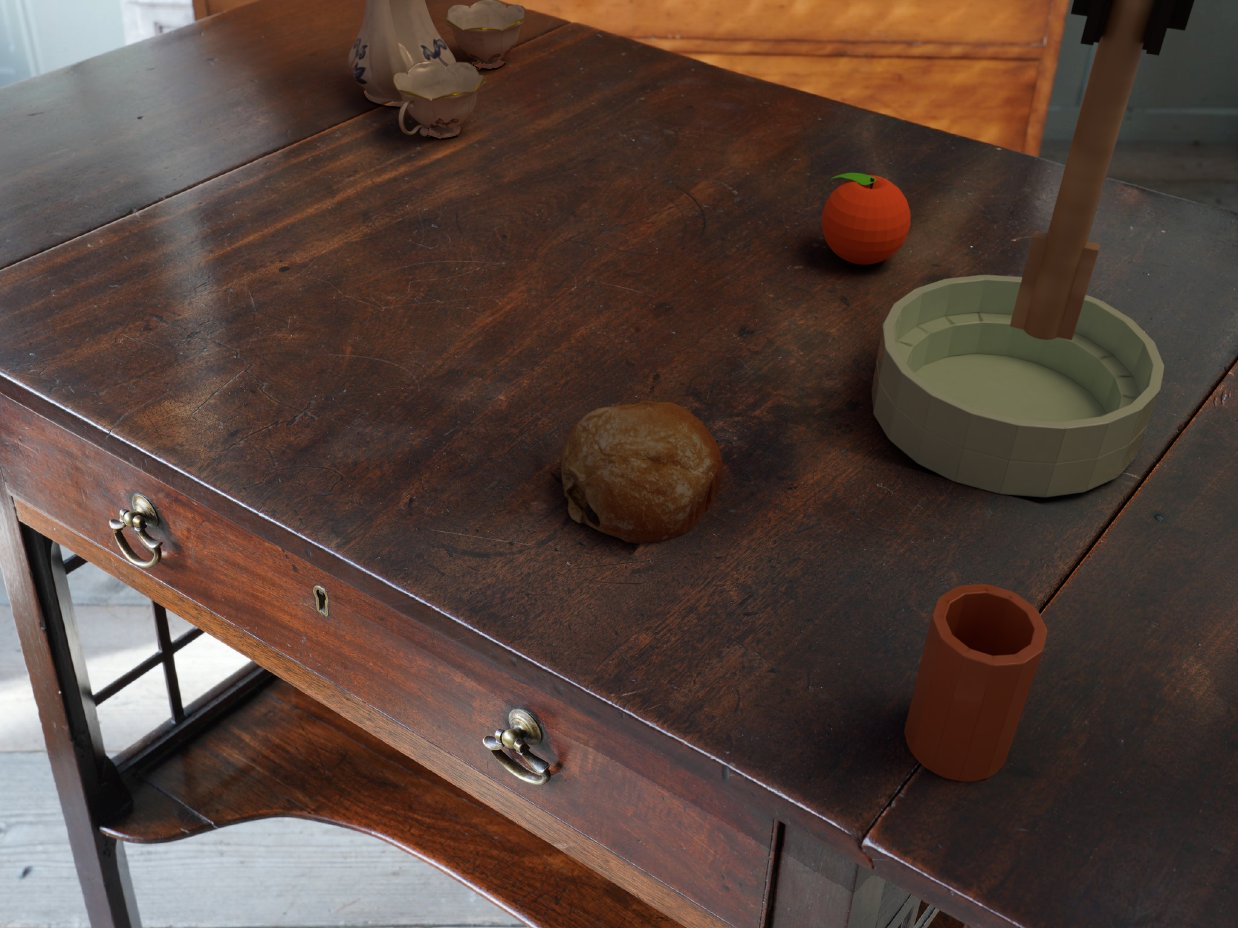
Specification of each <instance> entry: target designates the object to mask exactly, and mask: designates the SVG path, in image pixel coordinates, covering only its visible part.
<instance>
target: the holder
mask: <svg viewBox="0 0 1238 928" xmlns="http://www.w3.org/2000/svg"><path fill="white" fill-rule="evenodd" d="M1048 633H1049V632H1048V628H1047V626H1046V624H1045V621H1044V620H1043V618H1042V616H1041V613H1040V612H1039V610H1038V609H1037V607H1036V606H1034V605H1033V604H1031V603H1030V602H1029V601H1028V600H1026V599H1025V598H1023V597H1022V596H1021V595H1019V594H1017V593H1016V592H1014V591H1012V590H1009V589H1005V588H1002V587H999V586H995V585H991V584H988V583H987V584H986V583H978V584H977V583H975V584H964V585H957V586H955V587H954V588H952V589H951V590H949V591H947V592H945V593H943V594H942V595H941V596H939V597H938V598H937V601H936V603H935V606H934V610H933V612H932V615H931V619H930V623H929V627H928V632H927V634H926V635H927V636H926V640H925V644H924V648H923V651H922V656H921V660H920V663H919V668H918V672H917V675H916V679H915V684H914V687H913V688H914V689H913V693H912V696H911V700H910V705H909V709H908V712H907V717H906V722H905V725H904V728H903V729H904V730H903V733H904V736H905V739H906V744H907V747H908V749H909V750H910V753H911V754H912V755H913V757H914V758H915V759H916V760H917V761H918V763H920V764H921V765H922V766H923V767H924V768H925V769H927V770H929V771H930V772H932V773H934V774H935V775H937V776H939V777H942V778H945V779H948V780H951V781H957V782H977V781H982V780H985V779H988V778H990V777H992V776H993V775H995V774H996V773H997V772H999V771H1000V769H1002V768H1003V767H1005V765H1006V763H1007V760H1008V757H1009V755H1010V750H1011V748H1012V744H1013V742H1014V739H1015V735H1016V733H1017V730H1018V727H1019V723H1020V721H1021V718H1022V715H1023V712H1024V710H1025V706H1026V703H1027V700H1028V696H1029V695H1030V691H1031V688H1032V686H1033V682H1034V680H1035V677H1036V674H1037V670H1038V668H1039V665H1040V662H1041V659H1042V655H1043V653H1044V649H1045V645H1046V641H1047V637H1048Z"/></svg>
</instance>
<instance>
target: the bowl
mask: <svg viewBox="0 0 1238 928" xmlns="http://www.w3.org/2000/svg"><path fill="white" fill-rule="evenodd" d="M1021 280H1022V276H1011V275H1010V276H1009V275H996V274H977V275H969V276H958V277H950V278H944V279H940V280H938V281H935V282H931V283H928V284H926V285H921V286H919V287H916V288H914V289H913V290H911V291H910V292H909V293H907V294H906V295H904V296H903V297H901V298H900V299H899V300H897V301H896V302H895V303H893V304H892V305H891V308H890V310H889V312H888V314H887V315H886V317H885V319H884V321H883V323H882V327H881V333H880V340H879V345H878V350H877V356H876V361H875V368H874V374H873V380H872V385H871V399H872V400H871V401H872V402H871V403H872V411H873V413H872V414H873V416H874V417H875V419H876V420H877V422H878V424H879V426H880V427H881V429H882V430H883V432H884V434H885V435H886V437H887V439H888V440H889V441H890V442H891V443H892V444H894V445H895V446H896V447H897V448H898V449H899V450H900V451H902V452H903V453H904V454H906V456H908V457H909V458H910V459H912V461H914V462H915V463H916V464H918V465H920V466H921V467H923V468H925V469H928V470H930V471H932V472H934V473H935V474H937V475H939V476H942V477H944V478H946V479H948V480H950V481H951V482H955V483H958V484H962V485H965V486H968V487H973V488H976V489H980V490H984V491H988V492H991V493H995V494H1000V495H1007V496H1009V495H1010V496H1023V497H1033V498H1034V497H1035V498H1036V497H1037V498H1051V497H1058V496H1066V495H1073V494H1079V493H1086V492H1088V491H1091V490H1093V489H1095V488H1097V487H1099V486H1101V485H1104V484H1106V483H1109V482H1111V481H1113V480H1115V479H1116V478H1119V476H1121V475H1122V473H1123V472H1124V471H1125V470H1126V469H1127V468H1128V467H1129V466H1130V465H1131V464H1132V462H1133V461H1135V459H1136V458H1137V456H1138V454H1139V452H1140V448H1141V445H1142V443H1143V440H1144V437H1145V434H1146V431H1147V428H1148V426H1149V423H1150V420H1151V417H1152V414H1153V411H1154V409H1155V406H1156V403H1157V400H1158V398H1159V395H1160V392H1161V388H1162V383H1163V378H1164V372H1165V364H1164V362H1163V359H1162V357H1161V355H1160V353H1159V350H1158V347H1157V344H1156V343H1155V341H1154V340H1153V339H1152V338H1151V337H1150V336H1149V335H1148V334H1147V333H1146V332H1145V331H1144V330H1143V329H1142V328H1141V327H1140V326H1139V324H1138V323H1137V322H1135V320H1133V318H1131V317H1129V316H1127V315H1126V314H1124V313H1122V312H1121V311H1120V310H1118V309H1116V308H1114V307H1113V306H1111V305H1110V304H1108V303H1106V302H1105V301H1103V300H1100V299H1098V298H1096V297H1093V296H1090V295H1088V294H1086V296H1085V299H1084V302H1083V306H1082V309H1081V312H1080V316H1079V319H1078V322H1077V326H1076V329H1075V332H1074V336H1073V339H1072V340H1068V339H1063V338H1059V337H1057V338H1055V339H1051V340H1042V339H1037V338H1034V337H1032V336H1030V335H1028V334H1027V333H1026V332H1025V331H1024V330H1023V329H1019V328H1014V327H1010V323H1011V319H1012V315H1013V311H1014V307H1015V304H1016V300H1017V296H1018V292H1019V288H1020V284H1021Z"/></svg>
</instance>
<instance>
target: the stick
mask: <svg viewBox="0 0 1238 928" xmlns="http://www.w3.org/2000/svg"><path fill="white" fill-rule="evenodd" d="M1155 1H1156V0H1111V2H1110V5H1109V9H1108V13H1107V17H1106V20H1105V24H1104V28H1103V32H1102V35H1101V38H1100V41H1099V43H1097V46H1096V47H1097V48H1096V50H1095V54H1094V57H1093V62H1092V65H1091V69H1090V72H1089V77H1088V80H1087V84H1086V86H1085V87H1086V88H1085V92H1084V95H1083V99H1082V103H1081V106H1080V110H1079V114H1078V117H1077V121H1076V126H1075V129H1074V133H1073V137H1072V140H1071V144H1070V148H1069V152H1068V155H1067V159H1066V163H1065V166H1064V171H1063V174H1062V178H1061V182H1060V185H1059V188H1058V192H1057V196H1056V200H1055V204H1054V207H1053V211H1052V216H1051V219H1050V223H1049V227H1048V230H1047V232H1044V231H1038V230H1034V232H1033V234H1032V238H1031V242H1030V246H1029V249H1028V254H1027V257H1026V261H1025V266H1024V269H1023V273H1022V276H1021V277H1022V280H1021V284H1020V288H1019V292H1018V296H1017V300H1016V304H1015V307H1014V311H1013V315H1012V319H1011V323H1010V327H1014V328H1019V329H1023V330H1024V331H1025V332H1026V333H1027V334H1028V335H1030V336H1032V337H1034V338H1037V339H1042V340H1051V339H1055V338H1057V337H1059V338H1063V339H1068V340H1072V339H1073V336H1074V332H1075V329H1076V326H1077V322H1078V319H1079V316H1080V312H1081V309H1082V306H1083V302H1084V299H1085V296H1086V295H1087V292H1088V289H1089V285H1090V282H1091V278H1092V275H1093V272H1094V269H1095V265H1096V262H1097V259H1098V255H1099V252H1100V248H1101V243H1099V242H1094V241H1088V240H1089V237H1090V234H1091V230H1092V227H1093V223H1094V220H1095V216H1096V214H1097V209H1098V206H1099V203H1100V200H1101V196H1102V193H1103V189H1104V186H1105V183H1106V178H1107V175H1108V172H1109V168H1110V166H1111V162H1112V159H1113V156H1114V151H1115V148H1116V144H1117V141H1118V137H1119V134H1120V131H1121V128H1122V124H1123V120H1124V118H1125V114H1126V110H1127V107H1128V104H1129V100H1130V97H1131V92H1132V90H1133V87H1134V83H1135V80H1136V76H1137V72H1138V69H1139V66H1140V62H1141V58H1142V55H1143V52H1144V50H1142V47H1143V43H1144V39H1145V36H1146V32H1147V29H1148V25H1149V22H1150V19H1151V15H1152V12H1153V8H1154V5H1155Z"/></svg>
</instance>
